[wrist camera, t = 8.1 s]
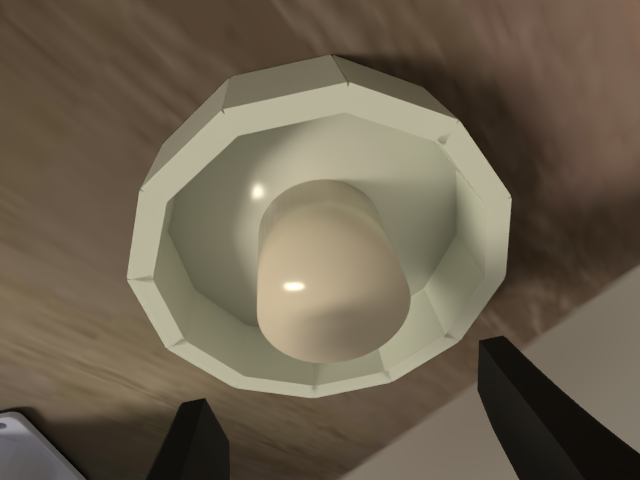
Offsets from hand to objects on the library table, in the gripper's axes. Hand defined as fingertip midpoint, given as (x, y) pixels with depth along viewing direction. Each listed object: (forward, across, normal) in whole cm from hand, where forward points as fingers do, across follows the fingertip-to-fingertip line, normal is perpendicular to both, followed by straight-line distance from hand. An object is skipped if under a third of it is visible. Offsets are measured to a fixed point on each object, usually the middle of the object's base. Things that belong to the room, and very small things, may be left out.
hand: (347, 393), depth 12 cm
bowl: (+8, 0, 0) cm, 8 cm away
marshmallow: (+8, 0, 0) cm, 8 cm away
